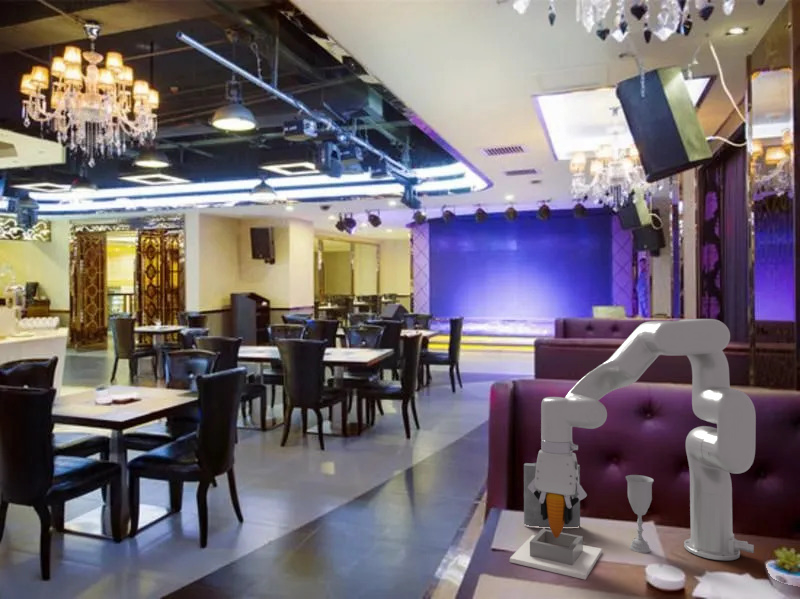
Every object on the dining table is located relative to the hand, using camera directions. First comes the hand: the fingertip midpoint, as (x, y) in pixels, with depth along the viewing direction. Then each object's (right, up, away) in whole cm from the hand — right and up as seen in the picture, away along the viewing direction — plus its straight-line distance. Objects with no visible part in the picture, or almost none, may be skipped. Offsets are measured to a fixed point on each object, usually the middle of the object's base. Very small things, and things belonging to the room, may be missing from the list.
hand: (556, 519), depth 142 cm
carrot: (0, -5, 0) cm, 5 cm away
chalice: (+23, -10, +6) cm, 26 cm away
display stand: (0, -9, 0) cm, 9 cm away
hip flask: (+5, -10, +21) cm, 24 cm away
